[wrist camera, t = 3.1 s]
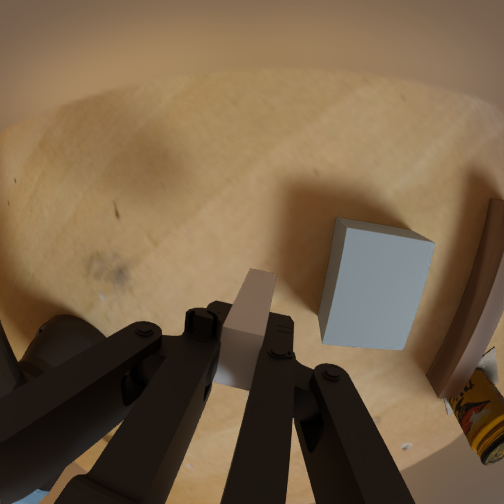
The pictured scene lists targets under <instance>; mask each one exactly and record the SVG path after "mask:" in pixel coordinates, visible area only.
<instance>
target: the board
mask: <svg viewBox="0 0 504 504" xmlns="http://www.w3.org/2000/svg"><path fill="white" fill-rule="evenodd" d="M503 311H504V201H501V200H496V199H490V204H489V209H488V213H487V218H486V222H485V226H484V231H483V234H482V238H481V242H480V246H479V249H478V253H477V256H476V259H475V263H474V266H473V269H472V272H471V275H470V278H469V281H468V284H467V287H466V289H465V292H464V295H463V297H462V300H461V303H460V305H459V308H458V310H457V313H456V315H455V317H454V320H453V322H452V324H451V327H450V329H449V331H448V333H447V336H446V338H445V340H444V342H443V344H442V346H441V348H440V350H439V352H438V354H437V356H436V358H435V360H434V362H433V364H432V366H431V368H430V370H429V371H428V373H427V375H426V377H427V378H428V380H429V382H430V384H431V386H432V388H433V390H434V391H435V393H436V395H437V397H438V398H458V397H459V395H460V394H461V392H462V391H463V389H464V387H465V386H466V384H467V382H468V381H469V379H470V377H471V376H472V374H473V372H474V370H475V369H476V367H477V365H478V363H479V361H480V360H481V358H482V356H483V354H484V352H485V350H486V348H487V346H488V344H489V342H490V340H491V338H492V336H493V334H494V331H495V329H496V327H497V325H498V323H499V320H500V318H501V316H502V313H503Z"/></svg>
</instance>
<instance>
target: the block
mask: <svg viewBox="0 0 504 504" xmlns="http://www.w3.org/2000/svg"><path fill="white" fill-rule="evenodd" d="M434 247H435V242H433V241H431V240H429V239H427V238H425V237H424V236H422V235H420V234H418V233H416V232H414V231H412V230H408V229H403V228H397V227H392V226H386V225H381V224H375V223H369V222H363V221H357V220H351V219H345V218H338V217H336V223H335V229H334V235H333V241H332V247H331V252H330V258H329V263H328V268H327V274H326V279H325V284H324V289H323V294H322V298H321V303H320V308H319V312H318V320H319V327H320V333H321V340H322V344H327V345H337V346H348V347H360V348H374V349H391V350H403V349H404V346H405V343H406V341H407V338H408V335H409V333H410V330H411V327H412V324H413V321H414V318H415V315H416V312H417V309H418V306H419V303H420V300H421V296H422V293H423V290H424V286H425V283H426V279H427V275H428V271H429V268H430V264H431V260H432V255H433V251H434Z"/></svg>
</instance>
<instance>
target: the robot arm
mask: <svg viewBox="0 0 504 504" xmlns="http://www.w3.org/2000/svg"><path fill="white" fill-rule="evenodd" d="M276 276H277V274H274V273H270V272H265V271H260V270H256V269H251V268H250V270H249V272H248V274H247V276H246V278H245V281H244V283H243V285H242V287H241V289H240V291H239V293H238V295H237V297H236V299H235V301H234V303H233V304H229V303H225V302H221V301H217V300H216V301H214V302H212V303H210V304H209V305H208V306H207V308H193V309H189V310H188V311H187V312H186V317H185V329H184V332H183V334H182V335H180V336H169V335H162V330H161V328H160V327H159V326H158V325H156V324H154V323H151V322H146V321H140V322H135V323H132V324H130V325H128V326H127V327H125V328H123V329H121V330H120V331H118V332H116V333H114V334H113V335H111V336H109V337H107V338H105V337H104V336H103V335H102V334H101V333H100V332H98V331H97V330H96V329H95V328H93V327H92V326H91V325H89V324H88V323H86V322H84V321H82V320H81V319H78V318H76V317H73V316H69V315H58V316H55V317H53V318H51V319H50V320H49V321H47V322H46V323H44V324H43V325H42V326H41V327H40V328H39V330H38V331H37V333H36V336H35V338H34V340H33V341H32V342H31V344H30V345H29V347H28V348H27V350H26V352H25V354H24V355H23V357H22V359H21V360H20V361H17V359H16V357H15V355H14V353H13V351H12V348H11V346H10V344H9V341H8V339H7V336H6V334H5V331H4V329H3V326H2V323H1V321H0V504H38V503H39V502H40V501H41V500H42V499H43V497H44V496H45V495H48V494H49V492H50V490H51V489H52V487H53V486H54V484H55V483H56V481H57V479H58V478H59V476H60V475H61V473H62V472H63V471H64V469H65V468H66V467H67V466H68V465H69V464H70V463H72V462H73V461H74V460H75V459H77V458H78V457H79V456H80V455H82V454H83V453H84V452H85V451H87V450H88V449H89V448H90V447H92V446H93V445H94V444H95V443H96V442H98V441H99V440H100V439H101V438H103V437H104V436H105V435H106V434H107V433H109V432H110V431H111V430H112V429H113V428H115V427H116V426H117V425H118V424H119V423H120V422H122V421H123V420H124V421H123V422H122V424H121V425H120V427H119V428H118V430H117V431H116V433H115V434H114V435H113V437H112V439H111V440H110V442H109V443H108V445H107V446H106V448H105V449H104V451H103V452H102V454H101V455H100V457H99V458H98V460H97V461H96V463H95V464H94V466H93V467H92V469H91V470H90V471H89V472H88V473H87V474H83V475H77V476H75V477H73V478H72V479H71V480H70V481H69V482H68V484H67V485H66V486H65V488H64V489H63V491H62V492H61V494H60V495H59V497H58V498H57V500H56V501H55V502H54V504H165V502H166V500H167V498H168V495H169V493H170V490H171V488H172V485H173V483H174V481H175V478H176V476H177V473H178V471H179V469H180V466H181V464H182V461H183V459H184V456H185V454H186V451H187V449H188V447H189V444H190V442H191V439H192V437H193V434H194V432H195V429H196V427H197V424H198V422H199V419H200V417H201V414H202V412H203V410H204V407H205V405H206V402H207V400H208V397H209V395H210V392H211V388H212V381H213V379H214V376H215V379H214V382H216V383H220V384H223V385H227V386H232V387H236V388H240V389H244V390H249V391H250V392H249V396H248V400H247V403H246V407H245V411H244V416H243V420H242V424H241V428H240V432H239V436H238V439H237V443H236V447H235V451H234V455H233V459H232V462H231V466H230V470H229V473H228V477H227V481H226V485H225V488H224V492H223V495H222V499H221V502H220V504H285V503H286V493H287V483H288V473H289V461H290V449H291V436H292V421H293V418H294V424H295V428H296V431H297V435H298V439H299V443H300V446H301V450H302V454H303V457H304V461H305V465H306V468H307V472H308V476H309V479H310V483H311V487H312V491H313V494H314V498H315V502H316V504H415V502H414V500H413V498H412V496H411V494H410V492H409V490H408V488H407V486H406V484H405V482H404V480H403V478H402V476H401V474H400V472H399V470H398V468H397V466H396V464H395V462H394V460H393V458H392V456H391V454H390V452H389V450H388V448H387V446H386V444H385V442H384V440H383V439H382V437H381V435H380V433H379V431H378V429H377V427H376V425H375V423H374V421H373V419H372V418H371V416H370V414H369V412H368V410H367V408H366V406H365V404H364V403H363V401H362V399H361V397H360V395H359V393H358V391H357V390H356V388H355V386H354V384H353V382H352V380H351V378H350V377H349V375H348V373H347V372H346V371H345V370H344V369H342V368H341V367H339V366H337V365H334V364H328V363H325V364H320V365H318V366H316V367H315V369H311V368H308V367H306V366H304V365H302V364H301V363H299V362H298V361H297V360H296V356H295V353H294V352H293V338H294V335H293V334H294V322H293V320H292V319H291V317H290V316H286V315H282V314H277V313H272V312H269V311H270V306H271V301H272V296H273V291H274V286H275V281H276Z"/></svg>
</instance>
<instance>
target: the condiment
mask: <svg viewBox="0 0 504 504" xmlns="http://www.w3.org/2000/svg"><path fill="white" fill-rule="evenodd" d="M483 366H485V367H483ZM481 367H482V368H481ZM497 383H498V372H497V363H496V350H495V348H493V349H492V350H491V351H490V352H488V353H487V354H485V356H483V357H482V358H481V360H480V361H479V363H478V365H477V367H476V369H475V370H474V372H473V374H472V376H471V377H470V379H469V381H468V382H467V384H466V386H465V387H464V389H463V391H462V392H461V394H460V395H459V397H458V398H444V401H445V404H446V408H447V412H448V416H449V415H451V414H452V413H454V414H455V416H456V418H457V420H458V422H459V424H460V426H461V428H462V430H463V432H464V434H465V436H466V438H467V439H468V442H469V445H470V446H471V448H472V450H474V451H477V454H478V456H479V457H480V459H481V462H482V463H483V464H484V465H491V464H494V463H496V462H498V461H499V460H501V459H502V458H504V398H503V396H502V395H501V393H500V392H499V391H498V389H497V388H496V387H495V385H496V384H497Z"/></svg>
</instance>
